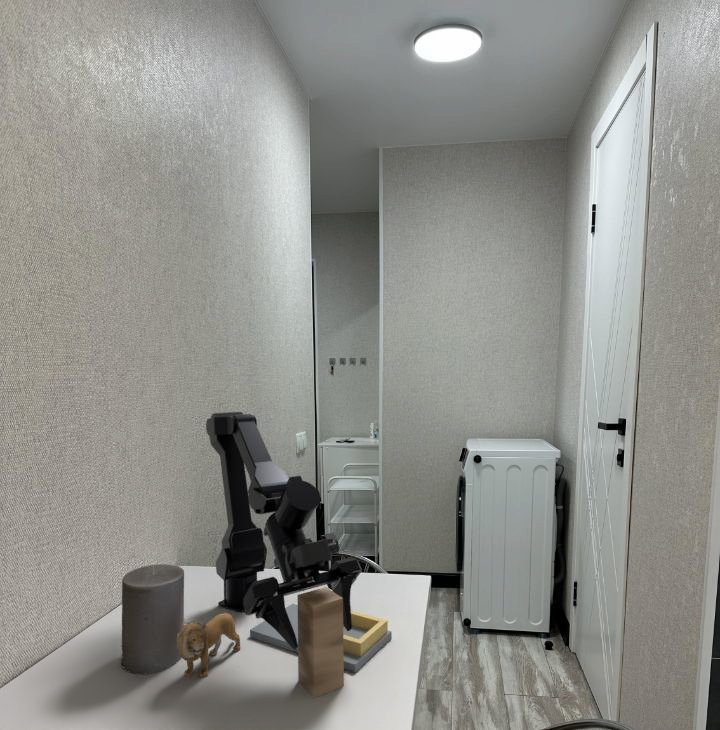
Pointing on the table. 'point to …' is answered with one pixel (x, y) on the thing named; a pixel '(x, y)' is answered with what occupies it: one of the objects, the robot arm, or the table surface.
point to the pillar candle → (152, 617)
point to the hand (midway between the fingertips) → (323, 638)
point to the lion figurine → (205, 640)
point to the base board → (356, 642)
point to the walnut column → (320, 641)
